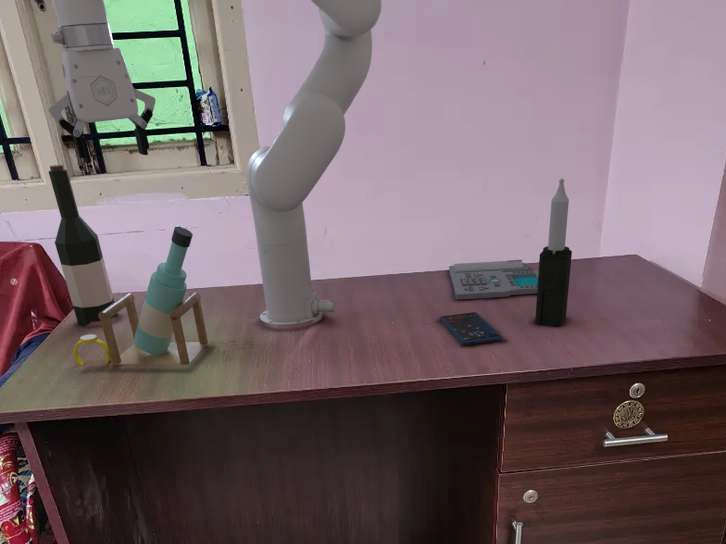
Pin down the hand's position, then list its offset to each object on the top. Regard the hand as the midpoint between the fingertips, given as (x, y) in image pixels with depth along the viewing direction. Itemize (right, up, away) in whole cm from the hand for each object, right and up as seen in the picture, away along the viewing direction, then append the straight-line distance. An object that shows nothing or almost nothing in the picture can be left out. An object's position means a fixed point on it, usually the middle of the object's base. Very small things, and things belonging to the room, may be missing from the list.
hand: (116, 158), depth 122 cm
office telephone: (+71, -10, +36) cm, 81 cm away
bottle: (+8, -32, +7) cm, 34 cm away
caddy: (+6, -33, +8) cm, 34 cm away
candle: (+77, -25, +13) cm, 82 cm away
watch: (-6, -35, +5) cm, 36 cm away
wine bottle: (-14, -21, +29) cm, 38 cm away
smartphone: (+62, -27, +11) cm, 68 cm away
